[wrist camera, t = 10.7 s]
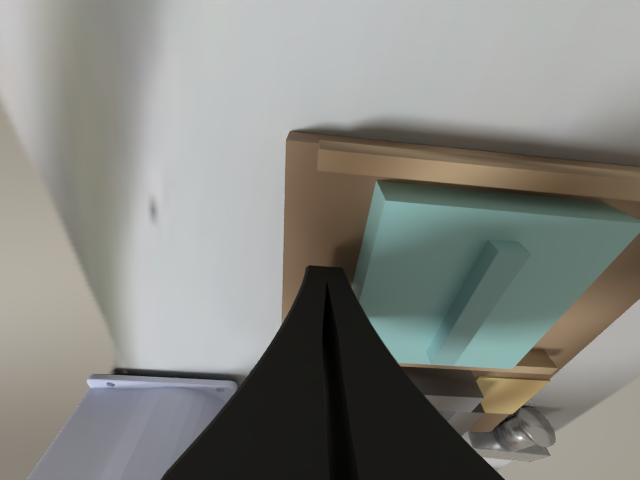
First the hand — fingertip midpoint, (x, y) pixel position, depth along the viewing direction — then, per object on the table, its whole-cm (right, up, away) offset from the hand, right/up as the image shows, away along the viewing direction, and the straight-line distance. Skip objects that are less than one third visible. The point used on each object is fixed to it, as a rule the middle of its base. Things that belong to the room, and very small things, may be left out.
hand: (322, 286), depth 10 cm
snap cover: (+5, 0, +1) cm, 5 cm away
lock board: (+6, -3, +5) cm, 8 cm away
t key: (+16, -12, +9) cm, 22 cm away
